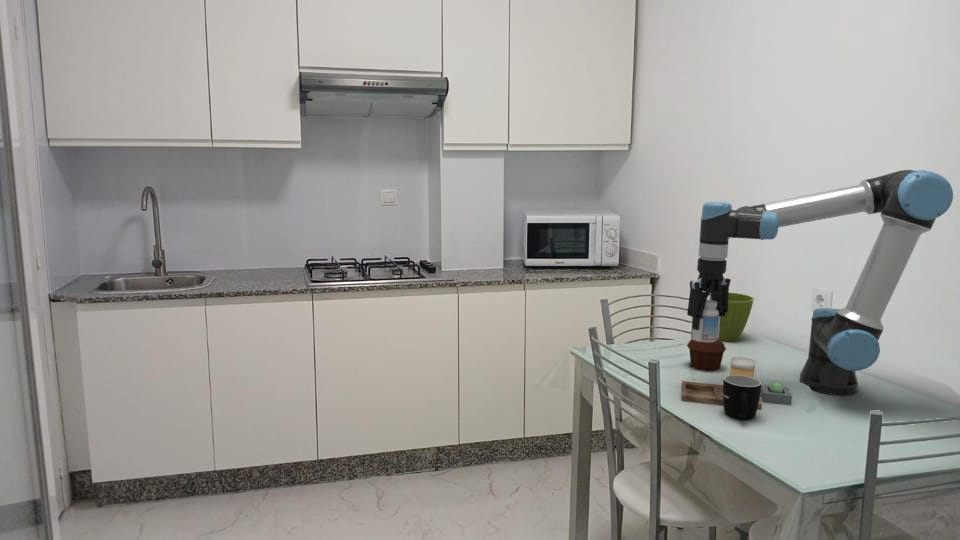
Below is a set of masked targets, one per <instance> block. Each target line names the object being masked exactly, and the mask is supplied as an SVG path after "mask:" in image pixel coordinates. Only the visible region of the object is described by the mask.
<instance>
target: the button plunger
mask: <svg viewBox="0 0 960 540" xmlns="http://www.w3.org/2000/svg"><path fill="white" fill-rule="evenodd" d="M769 385H770V387H769V392H774V393H783V387H785V386H784V385H785V384H784V383H783V382H782V381H781V382H780V381H778V380H772V381H770V382H769Z"/></svg>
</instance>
